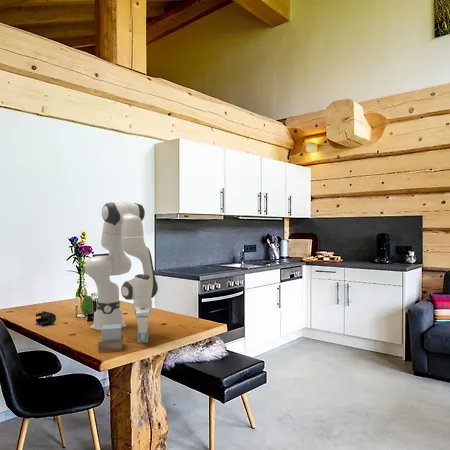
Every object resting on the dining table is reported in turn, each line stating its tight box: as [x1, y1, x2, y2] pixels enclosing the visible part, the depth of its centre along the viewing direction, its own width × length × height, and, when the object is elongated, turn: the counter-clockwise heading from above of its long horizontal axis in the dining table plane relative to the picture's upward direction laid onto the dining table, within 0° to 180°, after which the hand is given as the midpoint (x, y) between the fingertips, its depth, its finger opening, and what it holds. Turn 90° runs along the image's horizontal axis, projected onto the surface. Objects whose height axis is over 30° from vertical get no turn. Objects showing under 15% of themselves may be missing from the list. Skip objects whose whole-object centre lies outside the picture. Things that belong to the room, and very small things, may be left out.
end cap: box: [35, 310, 57, 328], centre depth 221 cm, size 10×7×7 cm
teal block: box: [136, 328, 149, 344], centre depth 188 cm, size 5×5×5 cm
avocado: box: [80, 295, 93, 316], centre depth 245 cm, size 8×8×12 cm
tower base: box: [97, 333, 124, 353], centre depth 177 cm, size 10×10×5 cm
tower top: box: [101, 324, 122, 340], centre depth 178 cm, size 8×8×5 cm
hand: (142, 337), depth 188 cm, fingers closed on teal block, 5 cm apart
